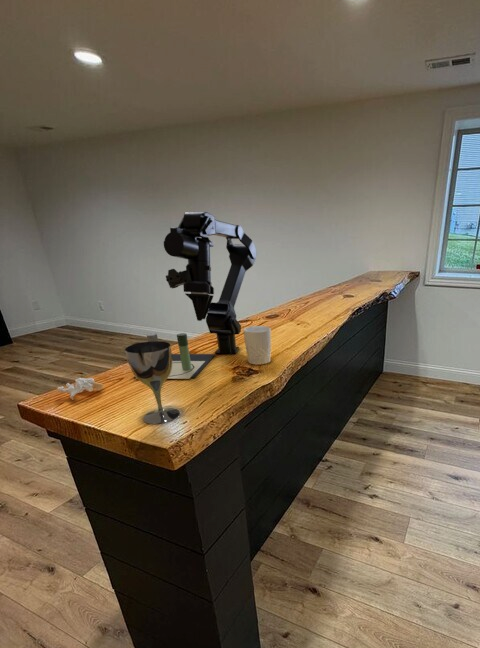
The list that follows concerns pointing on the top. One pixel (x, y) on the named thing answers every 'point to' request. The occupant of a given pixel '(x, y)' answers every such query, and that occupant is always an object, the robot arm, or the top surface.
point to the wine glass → (153, 374)
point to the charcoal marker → (152, 337)
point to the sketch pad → (196, 364)
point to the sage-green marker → (184, 351)
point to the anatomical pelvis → (81, 386)
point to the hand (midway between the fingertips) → (201, 319)
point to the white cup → (258, 344)
